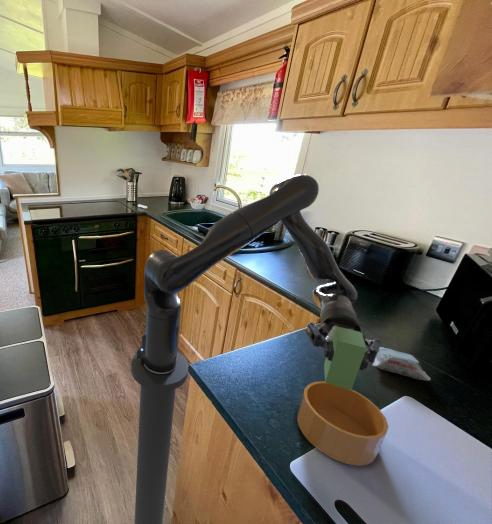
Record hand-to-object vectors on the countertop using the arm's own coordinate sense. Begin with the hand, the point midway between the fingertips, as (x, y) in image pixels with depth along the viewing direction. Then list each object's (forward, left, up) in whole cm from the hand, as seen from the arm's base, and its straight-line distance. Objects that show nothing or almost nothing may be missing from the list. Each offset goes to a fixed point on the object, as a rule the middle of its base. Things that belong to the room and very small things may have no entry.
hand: (346, 361), depth 55 cm
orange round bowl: (+2, +1, -18) cm, 18 cm away
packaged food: (+18, +33, -18) cm, 42 cm away
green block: (0, +3, -6) cm, 7 cm away
